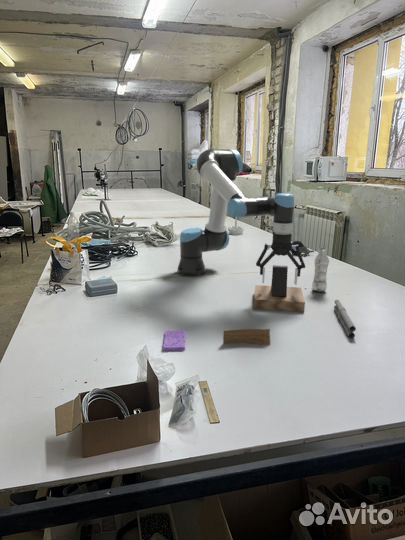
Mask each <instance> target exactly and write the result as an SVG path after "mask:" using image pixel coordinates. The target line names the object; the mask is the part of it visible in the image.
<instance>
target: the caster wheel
mask: <svg viewBox="0 0 405 540" xmlns="http://www.w3.org/2000/svg"><path fill="white" fill-rule="evenodd" d="M291 245H298V246H299V252H300V254H304V256H305V257H306V256H308V255H310V253H314V252H315V250H311V249H309V248H308V246H307V245H305V244H304V243H303V242H302V241H301V240H293V241H291ZM290 253H291V254H292V255H294V256H298V255H297V253H296V251H295V250H294V249H293V248H292V249H291V250H290Z"/></svg>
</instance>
